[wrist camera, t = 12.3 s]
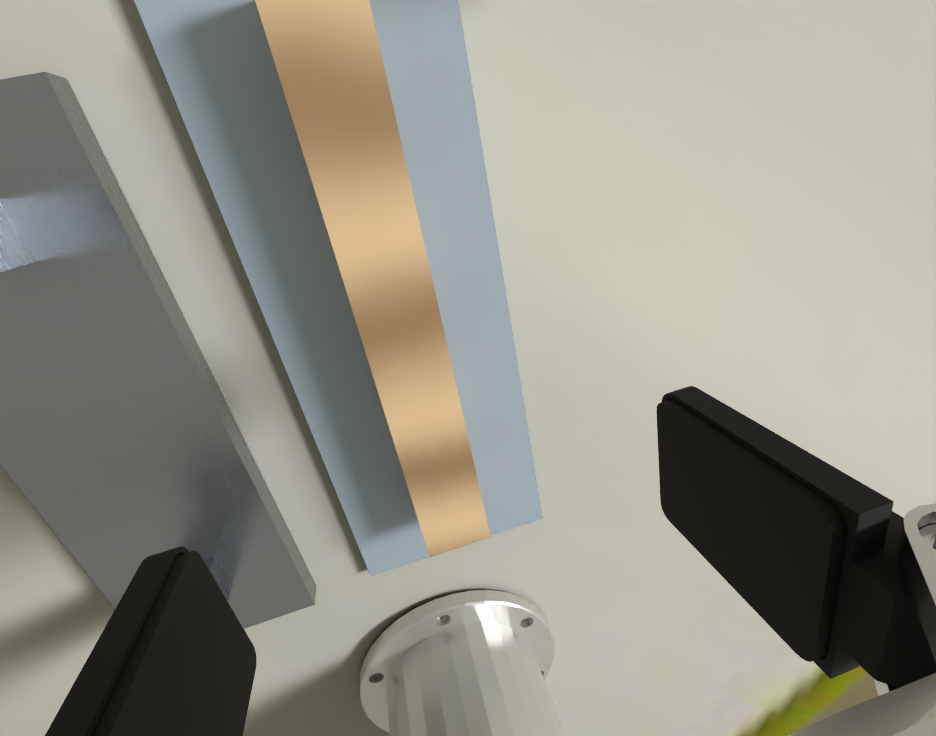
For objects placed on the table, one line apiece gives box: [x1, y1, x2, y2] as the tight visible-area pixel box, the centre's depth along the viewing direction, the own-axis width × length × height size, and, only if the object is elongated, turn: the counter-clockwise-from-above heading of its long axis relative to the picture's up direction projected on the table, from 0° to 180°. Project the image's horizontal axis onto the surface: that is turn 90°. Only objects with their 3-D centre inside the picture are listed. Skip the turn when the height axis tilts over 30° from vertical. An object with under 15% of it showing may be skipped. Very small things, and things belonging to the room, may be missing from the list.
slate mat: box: [134, 0, 543, 576], centre depth 20 cm, size 28×10×1 cm, turn 12°
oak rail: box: [255, 0, 491, 557], centre depth 18 cm, size 22×3×3 cm, turn 11°
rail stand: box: [0, 72, 316, 629], centre depth 14 cm, size 24×8×13 cm, turn 12°
